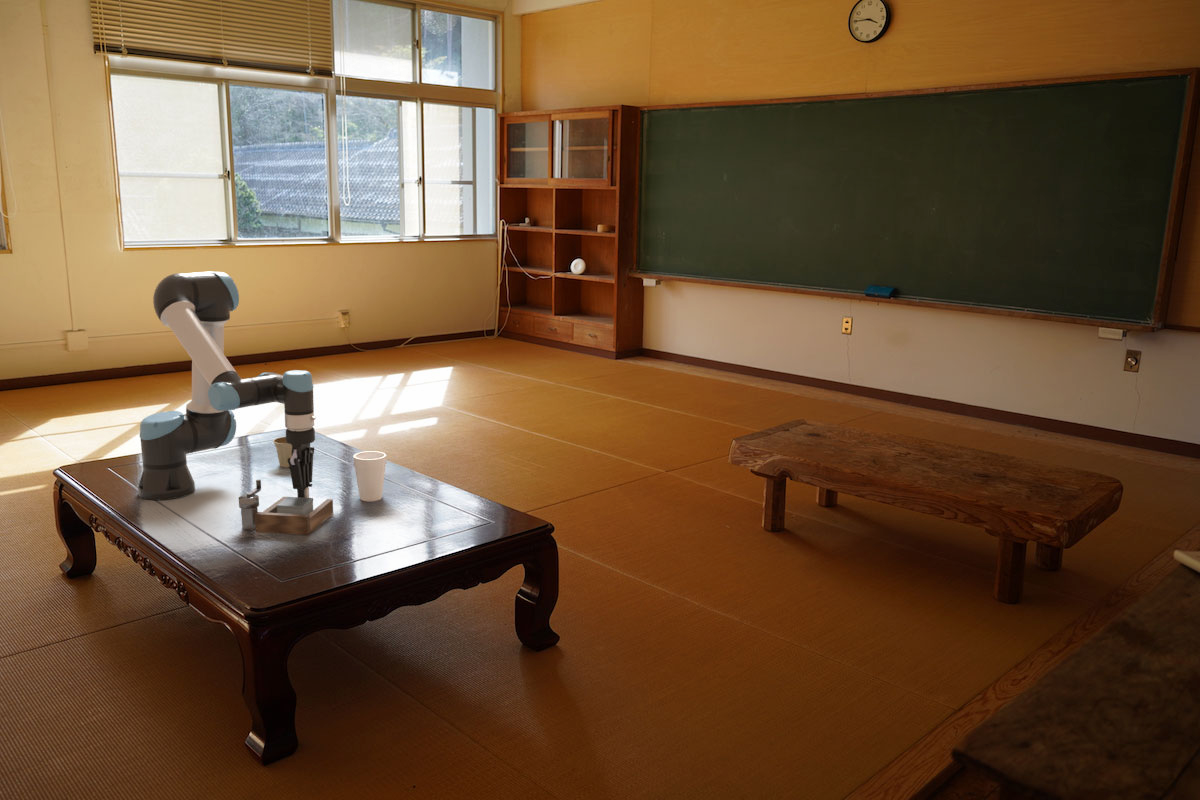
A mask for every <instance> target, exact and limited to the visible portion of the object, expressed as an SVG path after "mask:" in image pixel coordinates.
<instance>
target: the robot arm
mask: <svg viewBox="0 0 1200 800" xmlns="http://www.w3.org/2000/svg"><path fill="white" fill-rule="evenodd" d="M152 297H153V298H152V299H153V300H152V301H153V302H152V304H153V309H154V312H155V314H156V317H157V318H158V319H159V321H160V322H161V324H162V325H164V326H165V327H168V328H170V330H171V331H172V333H173V334H174V336H175V337H176V338H177V340H178V341H179V343H180V344H181V346H182V348H183V350H185V351H186V353H187V354H188V356H189V357H190V359H191V362H192V363H191V400H190V401H189V402H188V403H187V404H186V406H185V407H186V408H185V413H184V414H183V413H182V412H181V411H178V410H169V411H160V412H156V413H153V414H150V415H148V416H146V417H144V418H143V419H142V420H141V422H140V424H139V438H140V447H141V449H140V450H141V458H142V473H141V476H140V480H139V483H138V486H137V488H138V489H137V490H138V491H137V492H138V497H140V498H141V499H145V500H150V501H164V500H173V499H178V498H183V497H186V496H188V495H191V494H192V493H195V491H196V484H195V480H194V478H193V475H192V473H191V471H190V469H189V466H188V461H187V455H188V454H193V453H197V452H198V453H199V452H202V451H207V450H212V449H213V450H214V449H218V448H220V447H225V446H227V445H229V444H230V443H231V442H232V440H233V439H234V437H235V435H236V433H237V432H236V430H237V421H236V418H235V414H234V412H233V411H235V410H237V409H242V408H248V407H253V406H261V405H264V404H271V403H279V404H282V405H283V404H284V405H283V407H284V427H285V428H286V429H285V437H286V442H287V443H289V444H291V445H292V451H291V454H292V457H291V458H288V464H289V466H290V467H289V472H290V477H291V483H292V488H293V490H296V491H297V493H296V494H297V496H296V497H303V498H310V489H309V487H310V488H312V487H313V483H312V482H313V473H314V472H313V471H314V470H313V469H314V454H315V447H314V446H311V444H312V443H314V442H315V441H316V434H315V433H316V432H315V431H316V430H315V427H314V426H315V420H316V416H315V415H314V414H315V413H314V411H315V410H314V384H313V376H312V372H310V371H308V370H300V369H299V370H298V369H294V370H293V369H292V370H288V371H285V372H284V373H283V374H278V373H275V372H262V373H260V374H259V375H257V376H253V377H247V378H242V377H241V376H240V375H239V374H238V372H237V371H236V370H235V367H233V365H232V363H230V361H229V360H228V358H227V357H226V355H225V354H224V352H225V351H224V347H225V344H224V343H225V324H226V323H227V322H229V321H230V319H231V318H230V317H231V312H234V311H235V310H236V309H237V308H238V306H239V304H240V303H239V302H240V295H239V290H238V287H237V285H236V283H235V282H234V280H233V278H232V277H231V275H229V274H227V273H226V272H223V271H211V270H209V271H198V272H197V271H196V272H184V273H182V272H178V273H177V272H176V273H172V274H169V275H168V276H165V277H164V278H163V279H161V281H159V283H158V284H157V285H156V287H155V289H154V293H153V296H152Z"/></svg>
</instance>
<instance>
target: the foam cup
mask: <svg viewBox="0 0 1200 800" xmlns="http://www.w3.org/2000/svg"><path fill="white" fill-rule="evenodd" d="M352 457H353V460H352V461H353V466H354V471H355V477H356V484H357V489H358V496H359V498H360V500H361V501H363V502H377V501H380V500H382V498H383V493H384V492H383V491H384V483H385V472H386V464H387V453H385V452H382V451H378V450H377V451H375V450H374V451H373V450H372V451H370V450H369V451H368V450H367V451H361V452H357V453H355V454H353V456H352Z"/></svg>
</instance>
